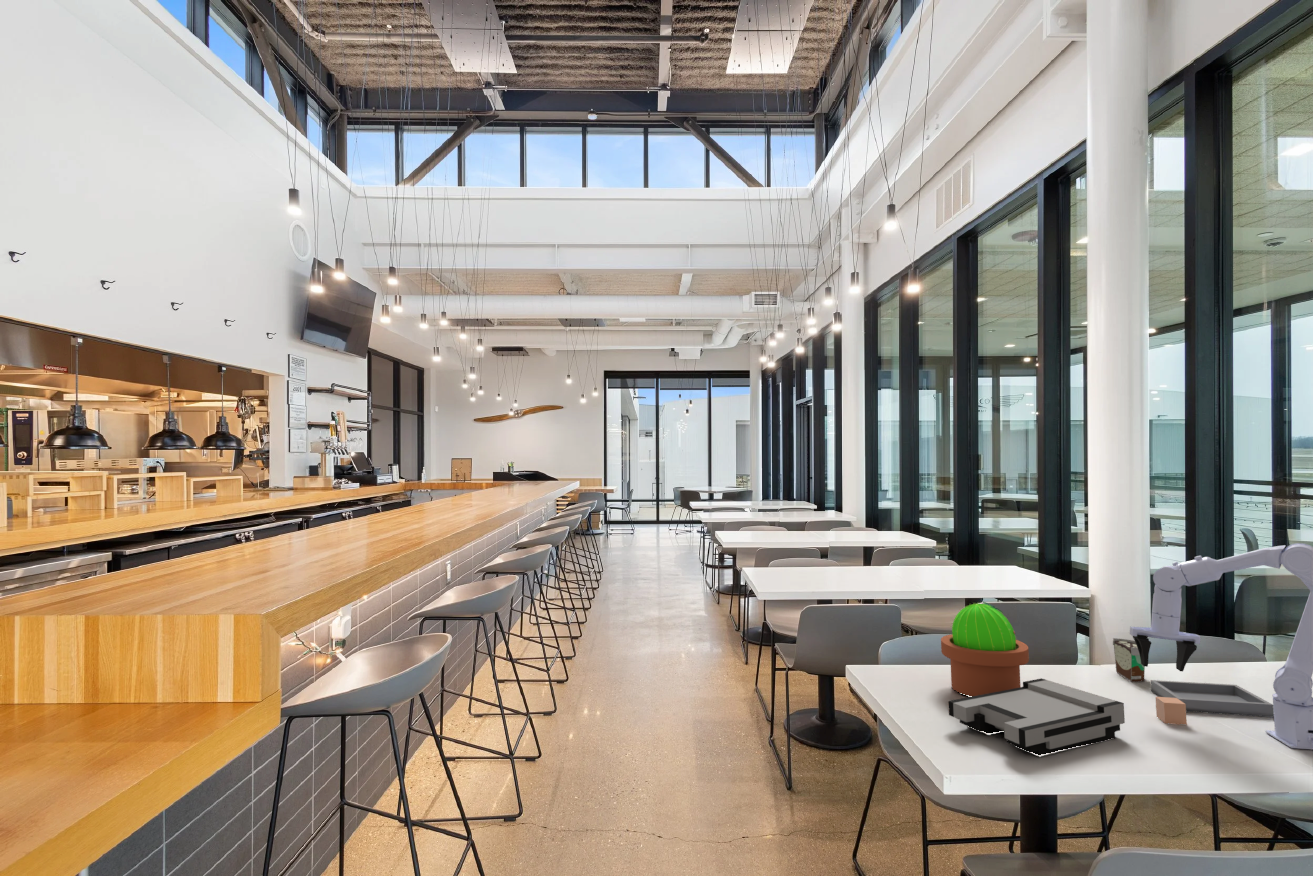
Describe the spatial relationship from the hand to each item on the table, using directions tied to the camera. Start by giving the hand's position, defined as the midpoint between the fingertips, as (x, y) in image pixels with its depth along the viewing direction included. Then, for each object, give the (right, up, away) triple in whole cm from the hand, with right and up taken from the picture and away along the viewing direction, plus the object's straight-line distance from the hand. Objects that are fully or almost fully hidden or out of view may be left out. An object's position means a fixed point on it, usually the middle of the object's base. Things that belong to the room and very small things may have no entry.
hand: (1161, 667), depth 169 cm
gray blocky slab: (-38, -12, -11) cm, 41 cm away
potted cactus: (-35, -14, +19) cm, 42 cm away
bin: (+18, -12, +7) cm, 22 cm away
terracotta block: (-1, -12, -4) cm, 12 cm away
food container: (+14, -13, +30) cm, 36 cm away
